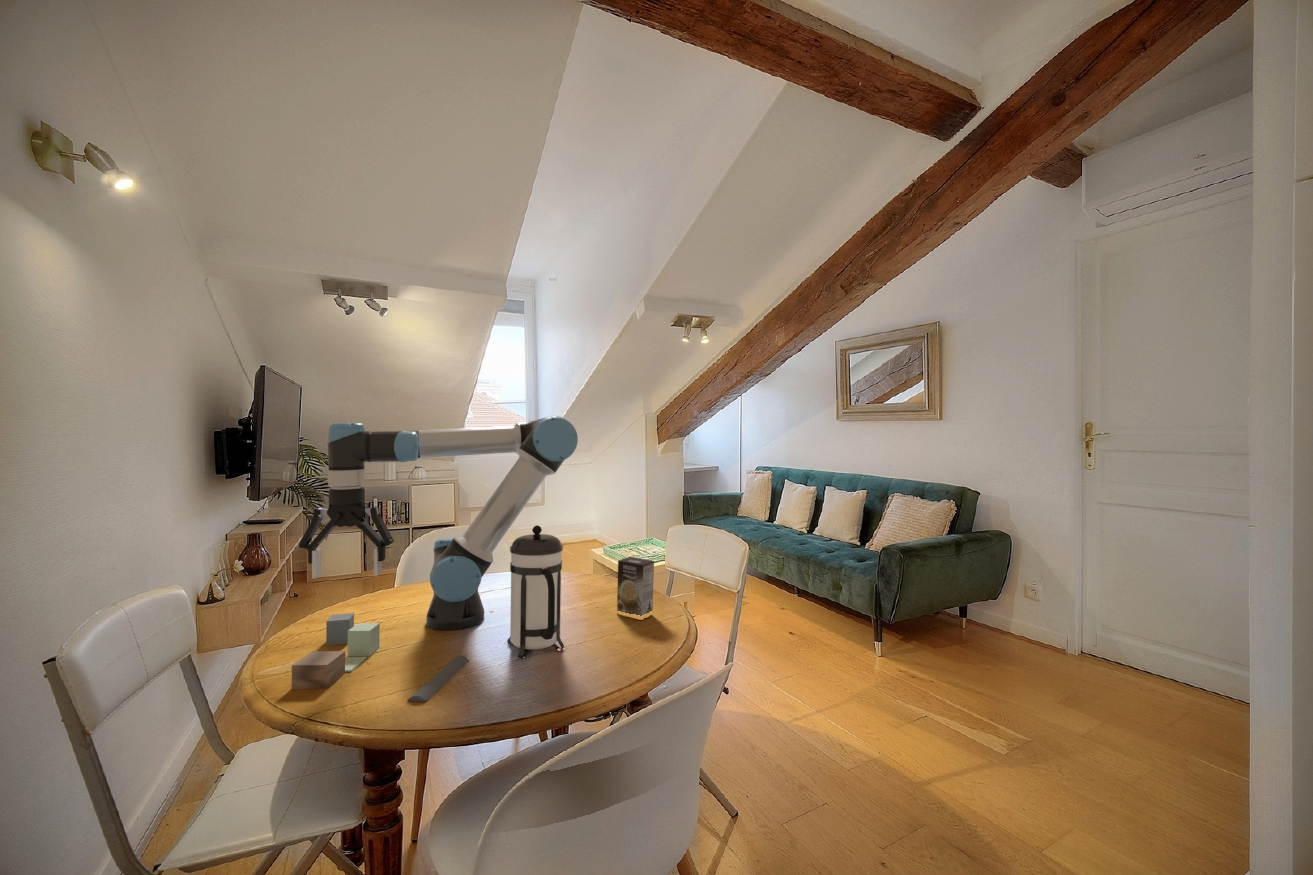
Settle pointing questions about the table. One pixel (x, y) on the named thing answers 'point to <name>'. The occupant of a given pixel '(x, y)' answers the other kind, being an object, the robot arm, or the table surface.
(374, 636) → the sage block
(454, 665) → the slim gray ramp strip
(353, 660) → the tile
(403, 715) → the table surface
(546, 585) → the coffee press
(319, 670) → the walnut base
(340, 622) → the gray block
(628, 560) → the coffee box
